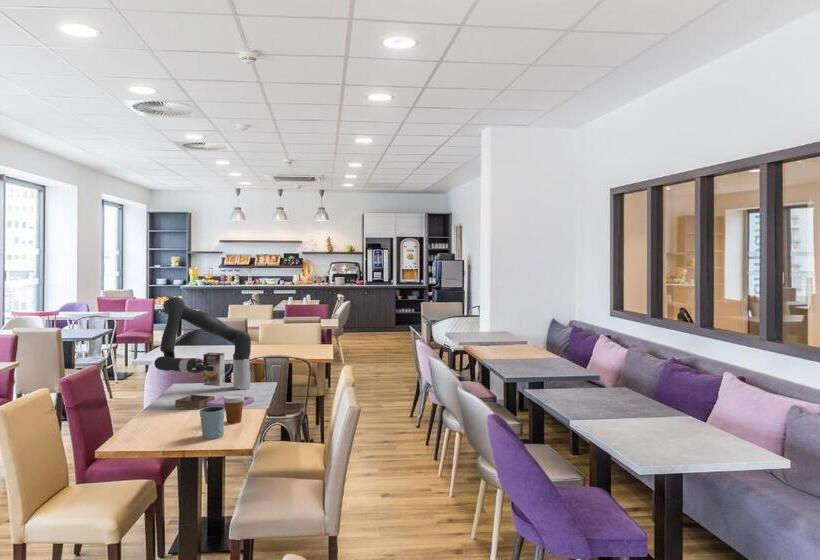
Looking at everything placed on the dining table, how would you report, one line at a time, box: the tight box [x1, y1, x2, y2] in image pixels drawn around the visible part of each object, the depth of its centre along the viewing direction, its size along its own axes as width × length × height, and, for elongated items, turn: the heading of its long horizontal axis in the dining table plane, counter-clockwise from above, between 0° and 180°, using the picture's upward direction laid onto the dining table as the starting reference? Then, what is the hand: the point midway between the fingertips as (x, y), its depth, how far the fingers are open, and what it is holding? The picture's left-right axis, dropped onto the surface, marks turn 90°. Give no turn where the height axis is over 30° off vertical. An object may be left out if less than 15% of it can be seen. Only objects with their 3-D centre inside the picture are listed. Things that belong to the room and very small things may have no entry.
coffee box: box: [203, 352, 225, 387], centre depth 307 cm, size 9×6×16 cm
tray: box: [206, 394, 255, 408], centre depth 308 cm, size 17×17×2 cm
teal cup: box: [199, 406, 226, 440], centre depth 254 cm, size 10×10×12 cm
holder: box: [174, 394, 215, 410], centre depth 307 cm, size 13×14×4 cm
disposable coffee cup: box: [223, 393, 245, 425], centre depth 276 cm, size 10×10×12 cm
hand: (217, 367), depth 306 cm, fingers closed on coffee box, 7 cm apart
